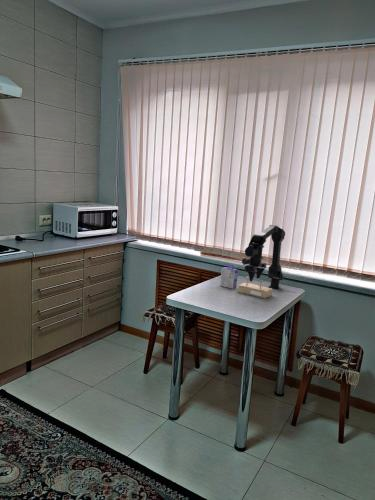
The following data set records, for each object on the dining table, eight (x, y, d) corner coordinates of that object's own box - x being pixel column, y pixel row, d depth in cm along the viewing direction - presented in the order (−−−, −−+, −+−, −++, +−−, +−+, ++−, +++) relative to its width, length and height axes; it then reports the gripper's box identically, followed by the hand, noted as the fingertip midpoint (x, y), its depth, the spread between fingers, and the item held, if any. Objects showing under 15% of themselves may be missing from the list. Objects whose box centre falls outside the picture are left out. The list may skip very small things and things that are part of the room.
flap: (245, 283, 247) (246, 273, 246) (272, 289, 237) (273, 279, 236) (238, 285, 240) (239, 275, 239) (265, 292, 229) (267, 281, 228)
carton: (245, 289, 248) (245, 283, 248) (271, 295, 238) (272, 289, 237) (237, 292, 240) (238, 286, 239) (264, 298, 230) (265, 292, 229)
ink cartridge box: (236, 287, 252) (239, 265, 249) (233, 289, 247) (235, 266, 245) (223, 284, 257) (225, 263, 255) (219, 285, 252) (221, 264, 250)
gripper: (251, 251, 245) (249, 275, 248) (237, 254, 230) (235, 280, 232) (268, 254, 239) (265, 278, 241) (254, 257, 224) (252, 283, 226)
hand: (254, 280), depth 235 cm, fingers open, 9 cm apart
